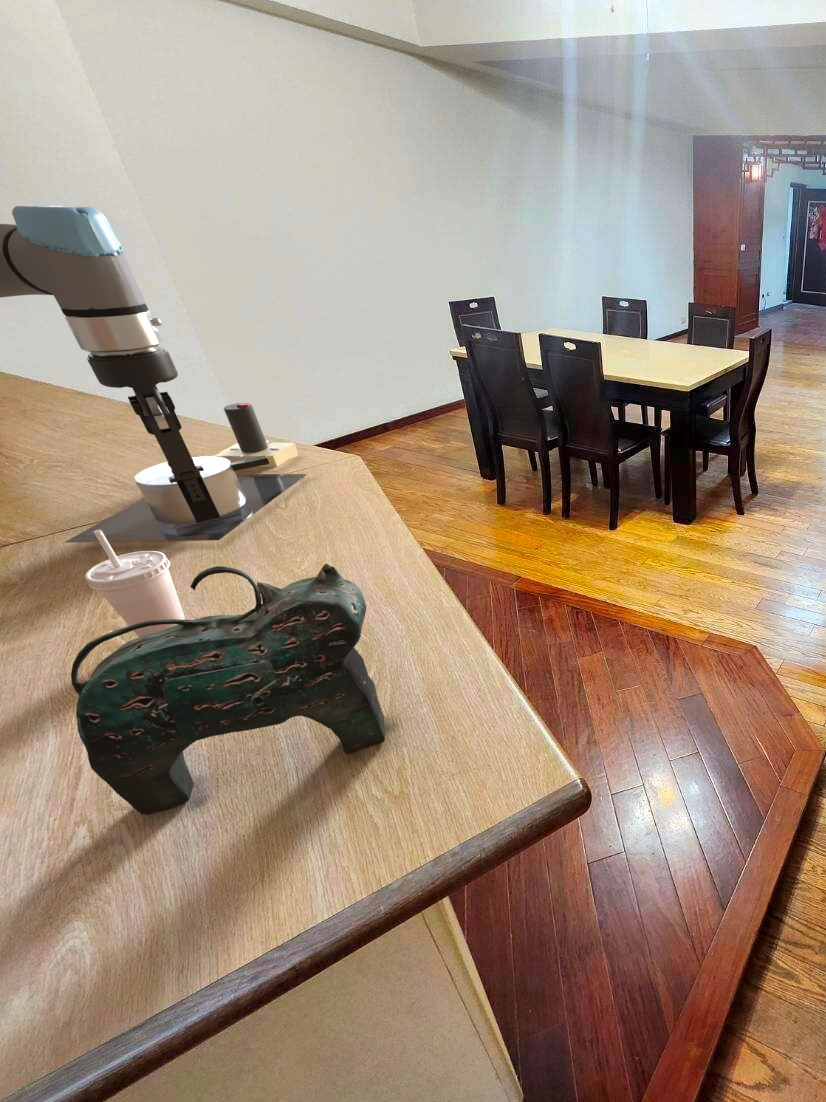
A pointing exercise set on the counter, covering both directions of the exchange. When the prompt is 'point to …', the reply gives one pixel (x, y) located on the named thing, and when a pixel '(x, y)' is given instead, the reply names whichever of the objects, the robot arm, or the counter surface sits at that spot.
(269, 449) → the cream base block
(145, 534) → the hob
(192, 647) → the ceramic cat
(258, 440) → the dark grey cylinder
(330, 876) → the counter surface
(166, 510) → the saucepan
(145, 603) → the smoothie
